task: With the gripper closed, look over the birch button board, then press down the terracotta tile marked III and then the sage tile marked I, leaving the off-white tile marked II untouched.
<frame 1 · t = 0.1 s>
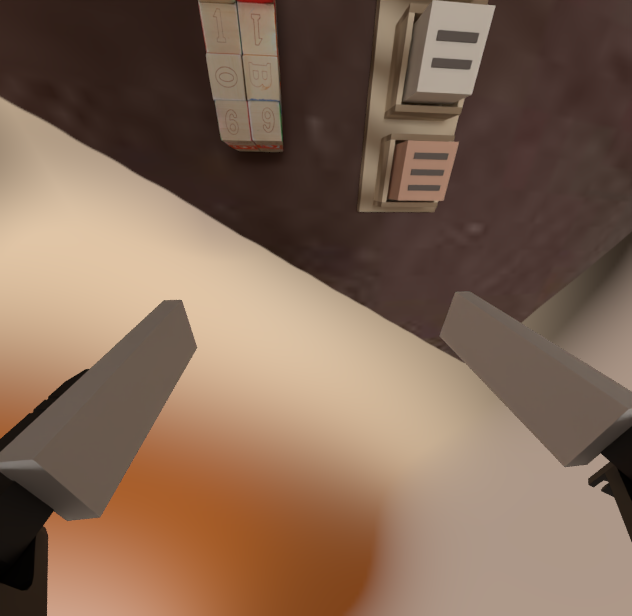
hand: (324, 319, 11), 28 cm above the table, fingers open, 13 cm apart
stack of blocks: (251, 38, 25), on the table
tile 3: (420, 172, 28), point 6 cm above the table, slide at 0.0 cm
button board: (415, 82, 28), on the table
tile 2: (443, 59, 23), point 6 cm above the table, slide at 0.0 cm
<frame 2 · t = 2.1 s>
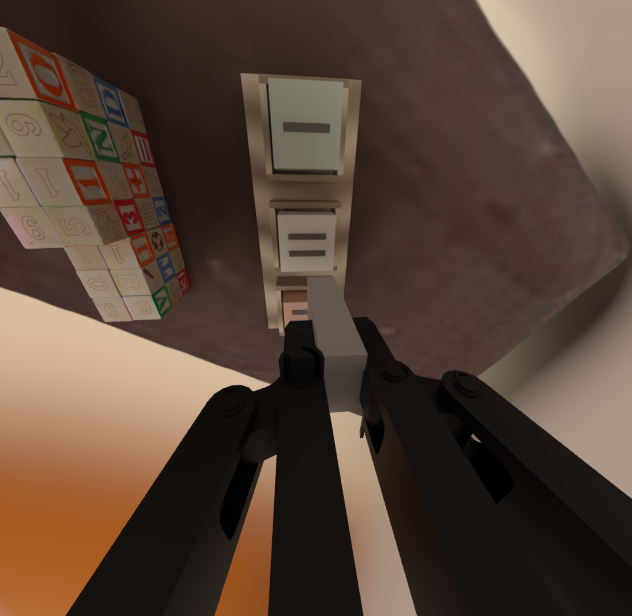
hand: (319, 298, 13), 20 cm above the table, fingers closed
stack of blocks: (144, 209, 28), on the table
tile 3: (306, 315, 30), point 6 cm above the table, slide at 0.0 cm
tile 1: (305, 131, 21), point 6 cm above the table, slide at 0.0 cm
button board: (303, 231, 31), on the table
tile 2: (306, 241, 25), point 6 cm above the table, slide at 0.0 cm
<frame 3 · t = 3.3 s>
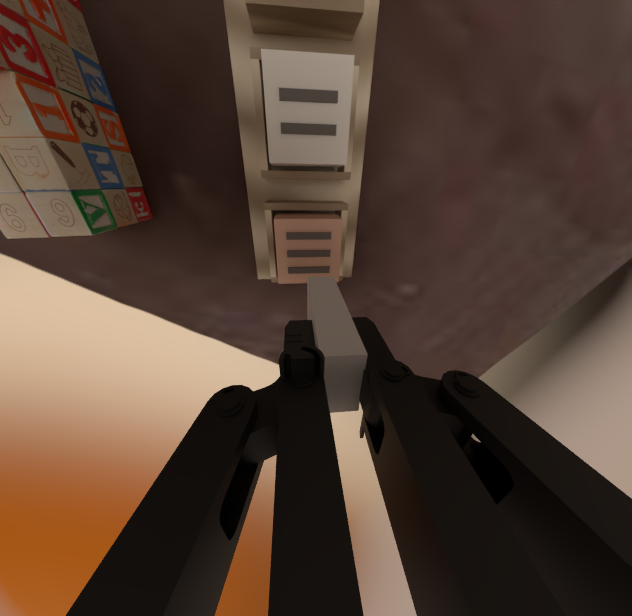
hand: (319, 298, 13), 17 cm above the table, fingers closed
stack of blocks: (76, 90, 20), on the table
tile 3: (307, 248, 22), point 6 cm above the table, slide at 0.0 cm
button board: (303, 133, 22), on the table
tile 2: (307, 118, 17), point 6 cm above the table, slide at 0.0 cm
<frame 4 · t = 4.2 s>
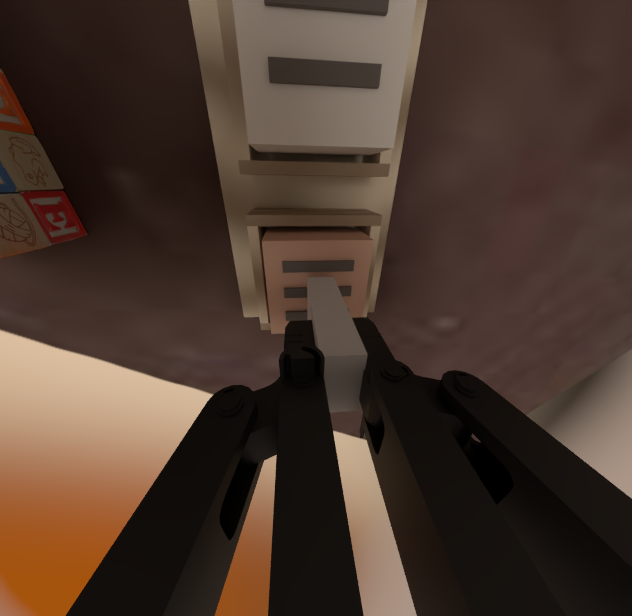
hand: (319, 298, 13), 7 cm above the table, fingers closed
tile 3: (315, 280, 15), point 5 cm above the table, slide at 0.8 cm, touching gripper
button board: (309, 103, 14), on the table
tile 2: (320, 60, 9), point 6 cm above the table, slide at 0.0 cm
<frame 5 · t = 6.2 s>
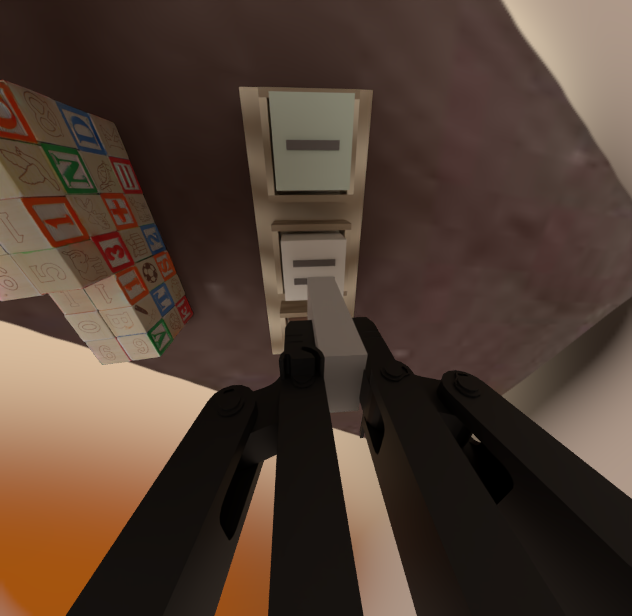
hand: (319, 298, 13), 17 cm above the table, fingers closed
stack of blocks: (137, 239, 26), on the table
tile 3: (312, 332, 30), point 3 cm above the table, slide at 2.6 cm
tile 1: (311, 148, 18), point 6 cm above the table, slide at 0.0 cm
button board: (309, 251, 28), on the table
tile 2: (313, 266, 23), point 6 cm above the table, slide at 0.0 cm
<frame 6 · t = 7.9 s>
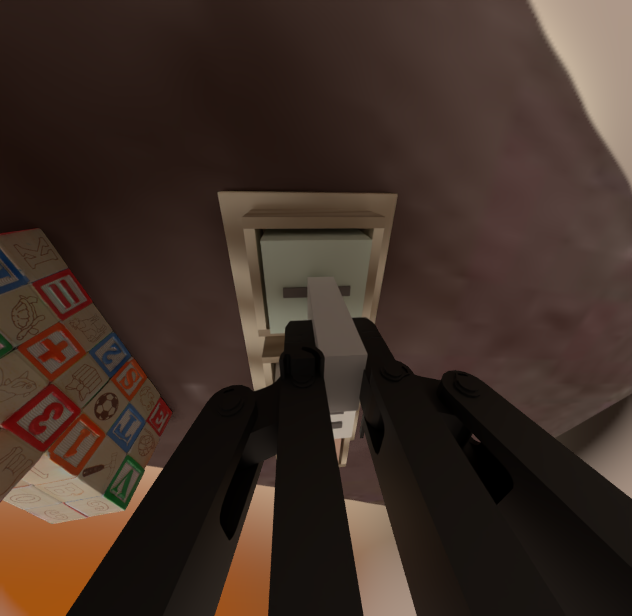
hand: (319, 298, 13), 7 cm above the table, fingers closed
stack of blocks: (93, 346, 21), on the table
tile 3: (311, 437, 26), point 3 cm above the table, slide at 2.6 cm
tile 1: (314, 280, 15), point 4 cm above the table, slide at 1.6 cm, touching gripper
button board: (309, 351, 24), on the table
tile 2: (314, 400, 18), point 6 cm above the table, slide at 0.0 cm
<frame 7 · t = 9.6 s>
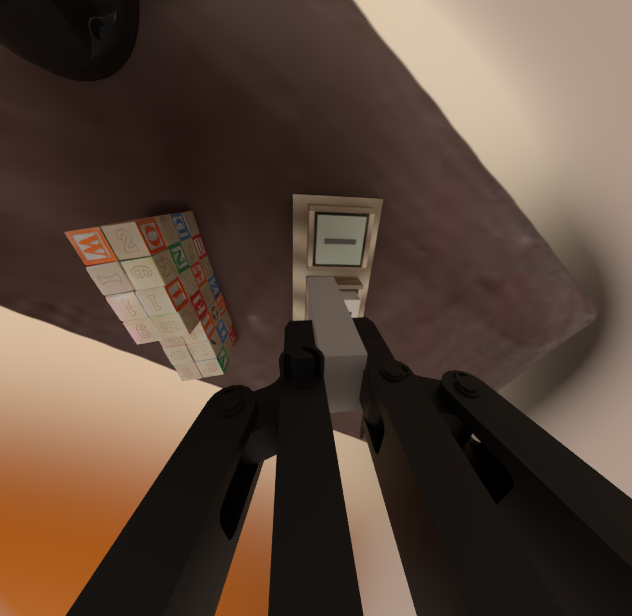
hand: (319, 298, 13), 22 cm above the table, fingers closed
stack of blocks: (199, 285, 35), on the table
tile 1: (337, 238, 30), point 3 cm above the table, slide at 2.6 cm
button board: (328, 295, 37), on the table
tile 2: (334, 313, 32), point 6 cm above the table, slide at 0.0 cm
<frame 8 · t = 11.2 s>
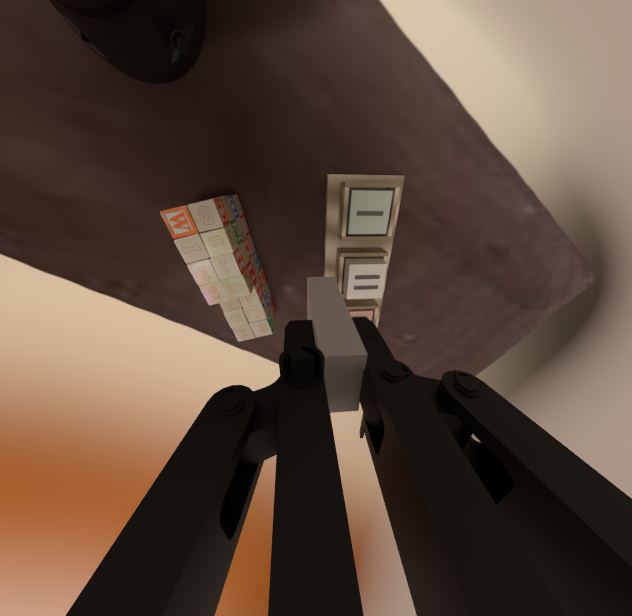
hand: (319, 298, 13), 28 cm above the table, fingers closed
stack of blocks: (242, 261, 40), on the table
tile 3: (354, 320, 44), point 3 cm above the table, slide at 2.6 cm
tile 1: (366, 212, 35), point 3 cm above the table, slide at 2.6 cm
button board: (354, 266, 42), on the table
tile 2: (363, 278, 37), point 6 cm above the table, slide at 0.0 cm
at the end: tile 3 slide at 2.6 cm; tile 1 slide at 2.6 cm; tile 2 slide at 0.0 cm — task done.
